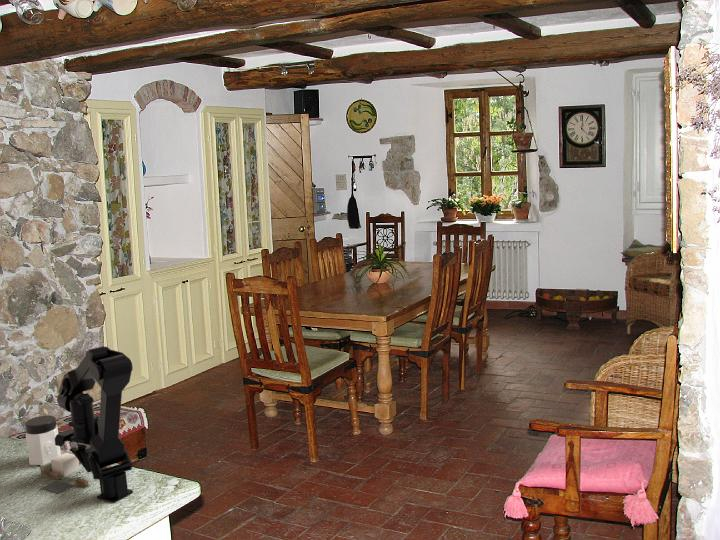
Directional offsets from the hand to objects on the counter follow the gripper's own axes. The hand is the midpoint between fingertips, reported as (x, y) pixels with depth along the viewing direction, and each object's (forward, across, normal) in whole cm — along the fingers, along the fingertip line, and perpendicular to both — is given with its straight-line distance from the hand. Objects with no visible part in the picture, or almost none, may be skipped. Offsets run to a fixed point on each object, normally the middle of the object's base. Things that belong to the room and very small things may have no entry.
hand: (89, 471), depth 202 cm
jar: (+2, +22, -3) cm, 22 cm away
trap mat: (+2, +4, +8) cm, 9 cm away
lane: (+2, +5, 0) cm, 5 cm away
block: (+2, +10, 0) cm, 10 cm away
